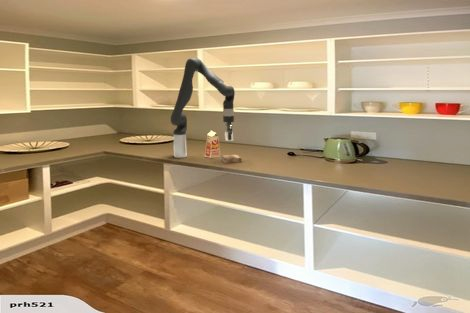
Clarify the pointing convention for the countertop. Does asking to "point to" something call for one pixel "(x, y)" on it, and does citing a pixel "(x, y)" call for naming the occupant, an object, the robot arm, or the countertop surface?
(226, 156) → the base
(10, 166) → the countertop surface
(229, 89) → the robot arm
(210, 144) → the milk carton
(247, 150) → the countertop surface
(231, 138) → the cube
